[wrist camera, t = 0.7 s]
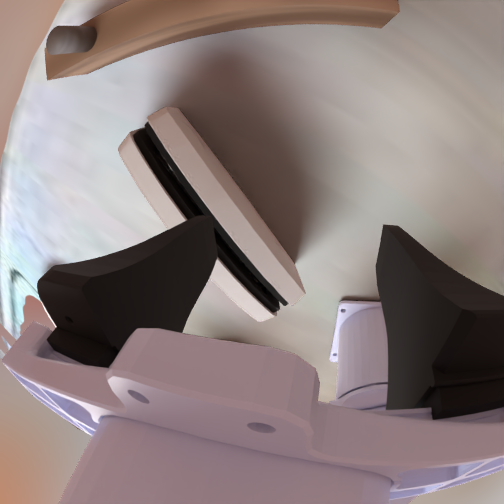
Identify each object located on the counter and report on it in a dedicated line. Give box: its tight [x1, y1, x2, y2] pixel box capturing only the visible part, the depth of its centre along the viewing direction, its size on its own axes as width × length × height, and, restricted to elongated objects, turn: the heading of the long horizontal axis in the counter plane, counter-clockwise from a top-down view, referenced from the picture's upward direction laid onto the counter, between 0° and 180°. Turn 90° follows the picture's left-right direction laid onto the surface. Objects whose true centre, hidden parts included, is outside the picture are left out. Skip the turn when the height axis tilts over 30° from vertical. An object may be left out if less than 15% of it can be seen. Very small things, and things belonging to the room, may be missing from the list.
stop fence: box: [45, 0, 400, 80], centre depth 11 cm, size 3×24×8 cm, turn 95°
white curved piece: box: [118, 107, 306, 322], centre depth 19 cm, size 17×5×10 cm, turn 36°
